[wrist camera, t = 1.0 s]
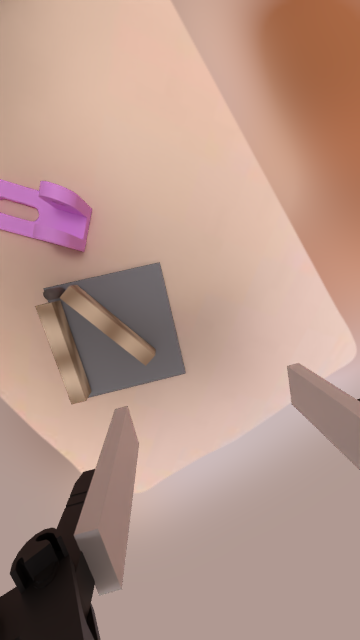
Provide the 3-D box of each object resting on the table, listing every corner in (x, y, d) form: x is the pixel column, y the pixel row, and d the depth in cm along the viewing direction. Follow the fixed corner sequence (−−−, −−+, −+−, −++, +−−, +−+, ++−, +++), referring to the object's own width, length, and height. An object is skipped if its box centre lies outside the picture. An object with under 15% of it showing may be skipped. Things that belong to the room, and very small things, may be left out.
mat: (45, 288, 30) (43, 288, 30) (159, 262, 31) (159, 262, 30) (83, 397, 34) (82, 399, 33) (185, 372, 34) (185, 373, 34)
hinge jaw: (67, 295, 30) (59, 297, 27) (76, 284, 30) (69, 285, 27) (146, 359, 33) (145, 365, 30) (155, 349, 32) (155, 355, 30)
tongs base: (42, 291, 30) (28, 293, 27) (64, 286, 30) (53, 287, 27) (78, 393, 33) (70, 406, 30) (98, 388, 33) (92, 400, 30)
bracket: (92, 209, 29) (71, 188, 22) (84, 252, 30) (62, 245, 23) (-16, 176, 27) (-74, 143, 20) (-20, 223, 28) (-78, 206, 21)
